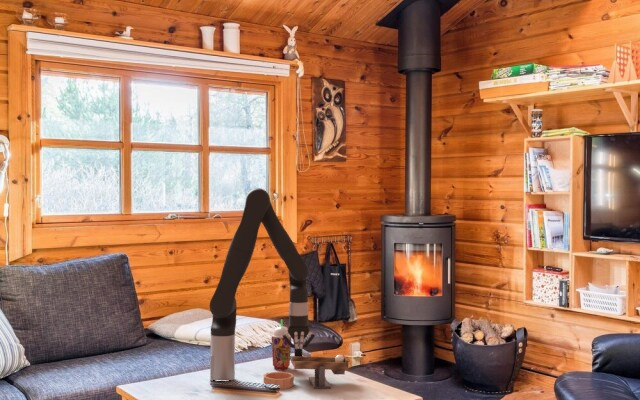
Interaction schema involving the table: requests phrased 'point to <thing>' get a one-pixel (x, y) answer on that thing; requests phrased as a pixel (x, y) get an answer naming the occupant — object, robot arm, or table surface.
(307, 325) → the robot arm
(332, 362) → the lever
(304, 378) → the table surface
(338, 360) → the ball
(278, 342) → the smoothie
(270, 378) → the orange bowl
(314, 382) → the stand
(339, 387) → the table surface
